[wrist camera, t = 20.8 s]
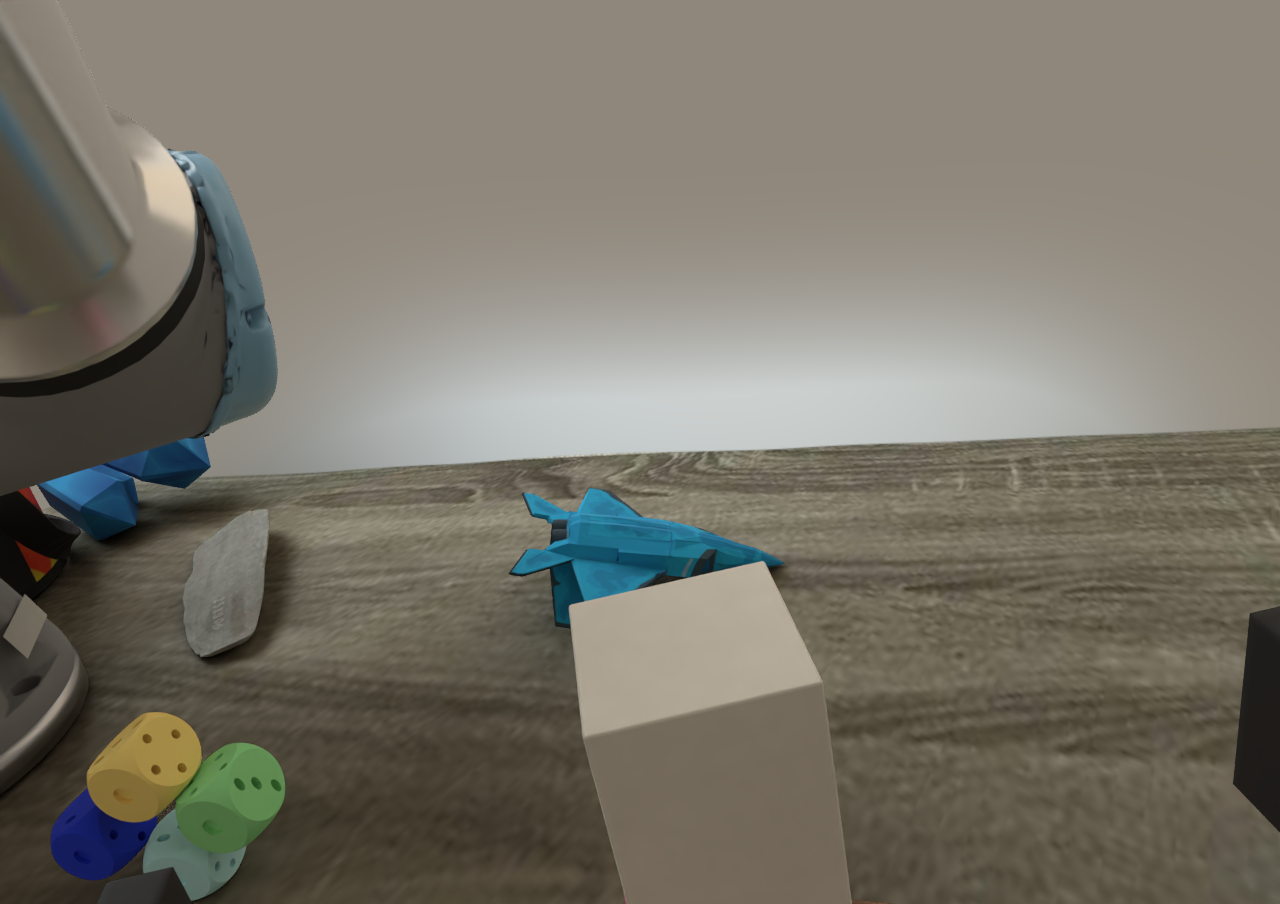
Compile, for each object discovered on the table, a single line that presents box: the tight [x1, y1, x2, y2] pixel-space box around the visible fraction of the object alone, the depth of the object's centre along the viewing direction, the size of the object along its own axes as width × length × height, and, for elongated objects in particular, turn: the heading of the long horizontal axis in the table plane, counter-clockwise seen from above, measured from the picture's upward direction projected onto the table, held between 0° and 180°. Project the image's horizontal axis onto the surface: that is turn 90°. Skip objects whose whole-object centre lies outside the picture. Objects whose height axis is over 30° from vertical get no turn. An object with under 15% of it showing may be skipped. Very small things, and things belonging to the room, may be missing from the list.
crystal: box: [37, 437, 211, 540], centre depth 64 cm, size 7×9×12 cm
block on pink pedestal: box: [569, 561, 852, 904], centre depth 18 cm, size 8×4×10 cm, turn 7°
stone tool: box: [183, 509, 269, 657], centre depth 52 cm, size 14×1×5 cm
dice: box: [51, 712, 285, 901], centre depth 33 cm, size 8×3×6 cm, turn 85°
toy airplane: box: [508, 488, 785, 628], centre depth 45 cm, size 12×10×4 cm
